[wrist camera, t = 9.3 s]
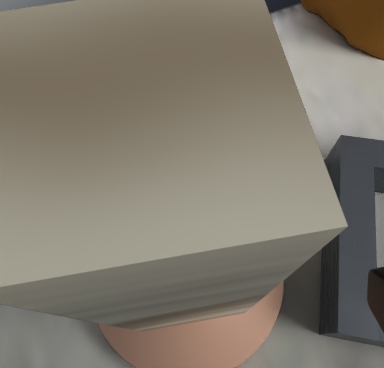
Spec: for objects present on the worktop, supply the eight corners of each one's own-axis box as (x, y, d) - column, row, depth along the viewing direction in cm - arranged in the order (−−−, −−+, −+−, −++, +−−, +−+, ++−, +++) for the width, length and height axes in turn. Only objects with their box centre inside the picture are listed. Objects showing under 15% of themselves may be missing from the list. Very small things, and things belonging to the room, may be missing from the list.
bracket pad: (303, 361, 15) (308, 361, 15) (98, 396, 15) (92, 399, 14) (256, 177, 19) (258, 170, 18) (91, 203, 19) (86, 197, 18)
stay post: (245, 313, 16) (348, 225, 4) (141, 331, 15) (-47, 295, 4) (223, 215, 17) (254, -27, 6) (132, 231, 17) (-14, 14, 6)
